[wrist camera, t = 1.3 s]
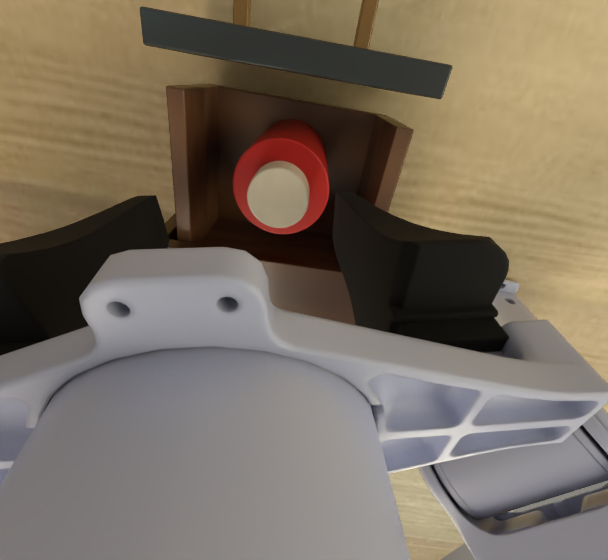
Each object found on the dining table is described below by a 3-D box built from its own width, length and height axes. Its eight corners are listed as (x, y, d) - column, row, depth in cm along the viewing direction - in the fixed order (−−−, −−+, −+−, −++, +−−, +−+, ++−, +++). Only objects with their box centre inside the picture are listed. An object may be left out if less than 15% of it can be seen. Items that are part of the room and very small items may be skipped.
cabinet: (197, 191, 24) (143, 242, 16) (373, 219, 24) (397, 280, 17) (202, 317, 30) (165, 394, 23) (338, 336, 31) (345, 417, 24)
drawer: (194, -99, 15) (115, -213, 9) (442, -47, 16) (518, -122, 10) (202, 219, 24) (165, 264, 18) (361, 243, 25) (375, 295, 19)
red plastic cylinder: (332, 125, 19) (340, 153, 12) (319, 195, 21) (320, 253, 14) (260, 112, 19) (226, 133, 12) (255, 185, 21) (224, 239, 14)
